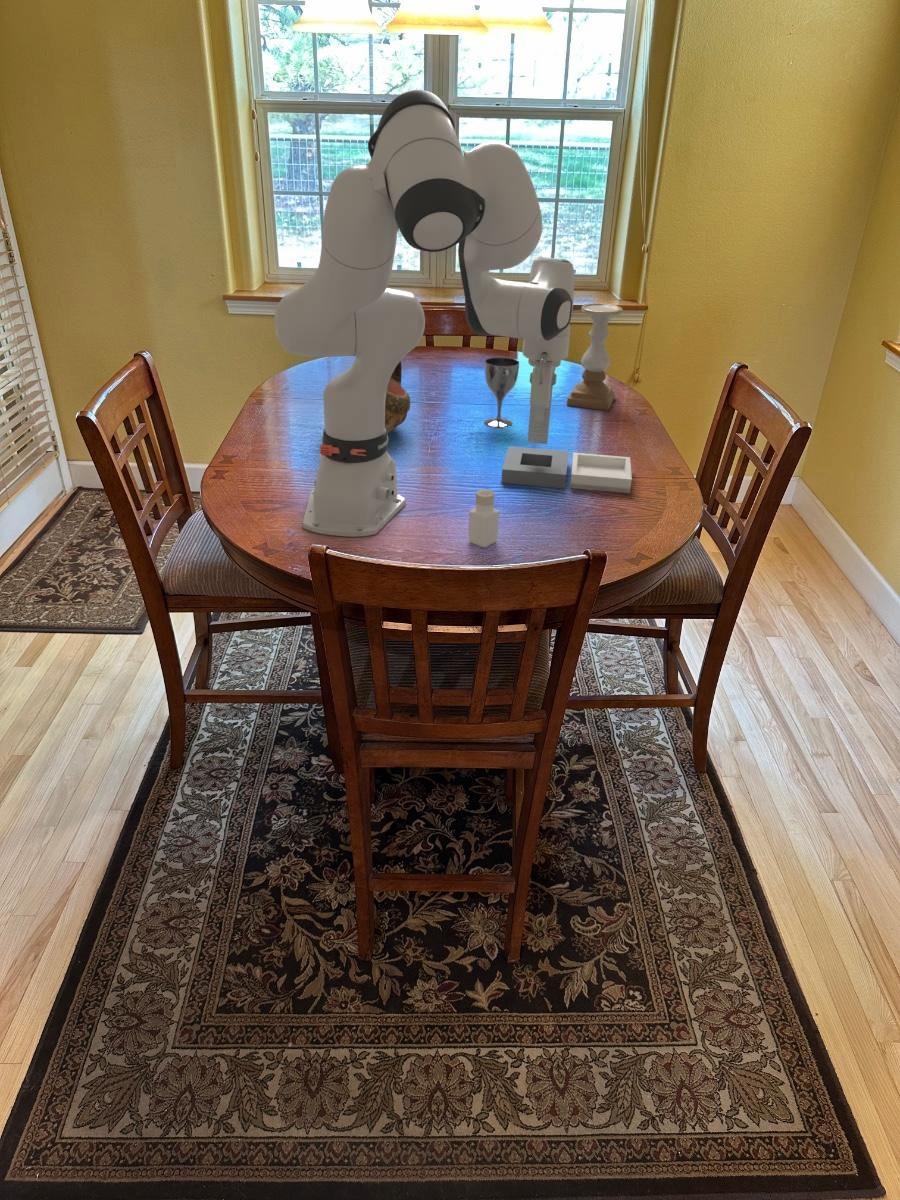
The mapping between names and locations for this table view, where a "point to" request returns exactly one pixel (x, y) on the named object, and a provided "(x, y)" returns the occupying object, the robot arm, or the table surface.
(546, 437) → the pin
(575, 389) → the candle holder
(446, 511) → the table surface
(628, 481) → the tray
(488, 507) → the pepper shaker
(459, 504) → the table surface
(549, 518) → the table surface
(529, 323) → the robot arm
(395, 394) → the ceramic vessel
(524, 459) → the holder block
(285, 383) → the table surface
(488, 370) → the wine glass
